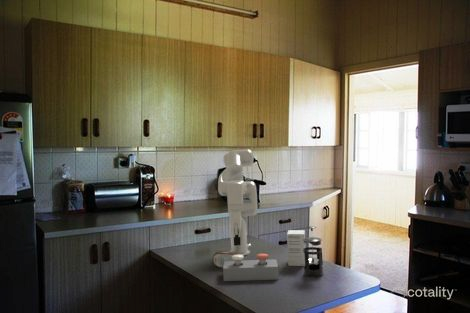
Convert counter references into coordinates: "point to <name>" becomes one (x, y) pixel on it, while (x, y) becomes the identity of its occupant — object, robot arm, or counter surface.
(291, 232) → the supplement box
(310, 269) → the french press
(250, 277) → the console
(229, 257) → the tin
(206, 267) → the counter surface
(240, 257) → the white button
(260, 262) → the red button
